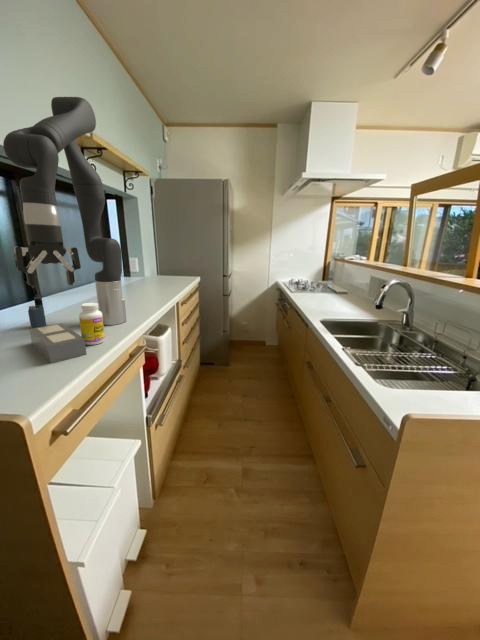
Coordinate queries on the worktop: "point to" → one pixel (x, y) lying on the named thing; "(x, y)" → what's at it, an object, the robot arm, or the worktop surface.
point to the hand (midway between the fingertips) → (53, 286)
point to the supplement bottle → (91, 324)
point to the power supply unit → (58, 342)
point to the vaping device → (37, 313)
